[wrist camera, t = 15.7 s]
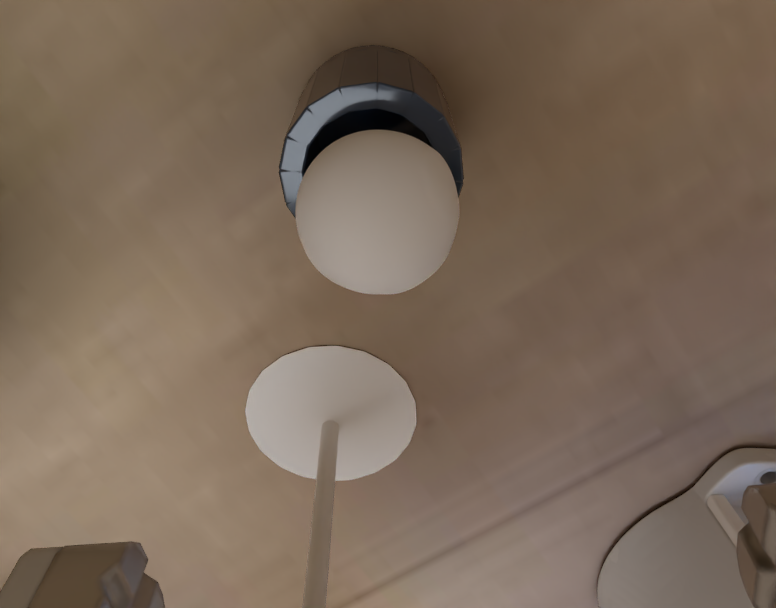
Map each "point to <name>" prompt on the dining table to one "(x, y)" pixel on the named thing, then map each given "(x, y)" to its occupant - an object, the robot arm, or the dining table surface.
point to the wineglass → (329, 430)
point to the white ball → (377, 212)
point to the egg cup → (367, 110)
